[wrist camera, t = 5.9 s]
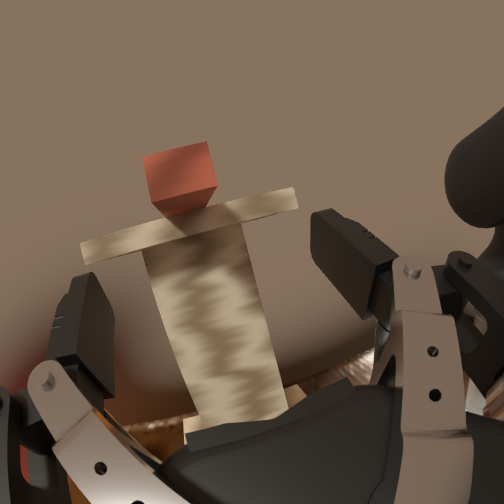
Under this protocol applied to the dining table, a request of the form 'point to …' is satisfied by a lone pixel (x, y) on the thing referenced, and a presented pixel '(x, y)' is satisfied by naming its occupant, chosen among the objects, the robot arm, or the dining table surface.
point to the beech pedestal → (211, 306)
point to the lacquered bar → (180, 179)
